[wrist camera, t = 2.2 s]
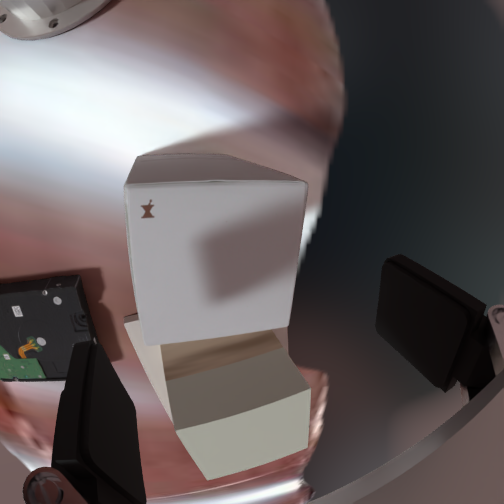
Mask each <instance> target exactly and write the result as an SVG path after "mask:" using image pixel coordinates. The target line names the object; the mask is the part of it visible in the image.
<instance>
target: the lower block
mask: <svg viewBox="0 0 504 504" xmlns="http://www.w3.org/2000/svg"><path fill="white" fill-rule="evenodd" d="M282 347H283V346H282V344H281V343H280V341H279V340H278V338H277V337H276V335H275V334H274V332H273V331H272V329H270V330H264V331H258V332H252V333H245V334H239V335H232V336H226V337H219V338H211V339H203V340H195V341H187V342H179V343H170V344H162V345H160V348H161V355H162V362H163V369H164V375H165V381H169V380H173V379H177V378H181V377H185V376H189V375H193V374H197V373H200V372H204V371H208V370H211V369H215V368H218V367H222V366H225V365H229V364H232V363H236V362H239V361H242V360H245V359H249V358H252V357H255V356H258V355H261V354H264V353H267V352H270V351H273V350H276V349H279V348H282Z"/></svg>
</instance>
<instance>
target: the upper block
mask: <svg viewBox="0 0 504 504" xmlns="http://www.w3.org/2000/svg"><path fill="white" fill-rule="evenodd" d="M166 387H167V393H168V398H169V403H170V409H171V414H172V419H173V424H174V428H175V432H176V433H177V435H178V437H179V438H180V440H181V441H182V443H183V445H184V446H185V448H186V449H187V451H188V452H189V454H190V455H191V457H192V458H193V460H194V461H195V463H196V464H197V466H198V467H199V469H200V470H201V472H202V473H203V475H204V476H205V477H206V479H207V480H211V479H215V478H219V477H223V476H226V475H230V474H233V473H237V472H240V471H244V470H247V469H250V468H253V467H256V466H259V465H262V464H265V463H268V462H271V461H274V460H277V459H280V458H282V457H285V456H288V455H290V454H293V453H295V452H298V451H300V450H303V449H305V448H307V447H308V433H309V417H310V398H311V388H310V386H309V385H308V383H307V382H306V380H305V379H304V377H303V376H302V374H301V373H300V371H299V370H298V368H297V367H296V365H295V364H294V362H293V361H292V359H291V358H290V356H289V355H288V353H287V352H286V350H285V349H284V347H282V348H279V349H276V350H273V351H270V352H267V353H264V354H261V355H258V356H255V357H252V358H249V359H245V360H242V361H239V362H236V363H232V364H229V365H225V366H222V367H218V368H215V369H211V370H208V371H204V372H200V373H197V374H193V375H189V376H185V377H181V378H177V379H173V380H169V381H166Z"/></svg>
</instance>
